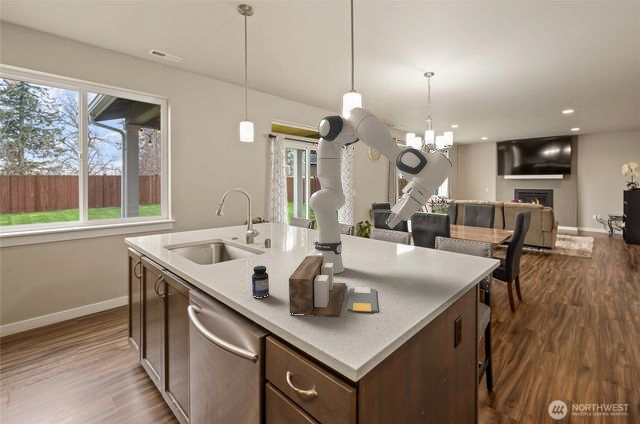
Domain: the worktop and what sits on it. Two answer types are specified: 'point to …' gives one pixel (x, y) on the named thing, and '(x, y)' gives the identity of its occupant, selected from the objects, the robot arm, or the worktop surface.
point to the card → (362, 300)
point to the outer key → (321, 290)
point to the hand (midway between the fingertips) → (388, 225)
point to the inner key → (328, 273)
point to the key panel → (312, 290)
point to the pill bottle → (260, 282)
